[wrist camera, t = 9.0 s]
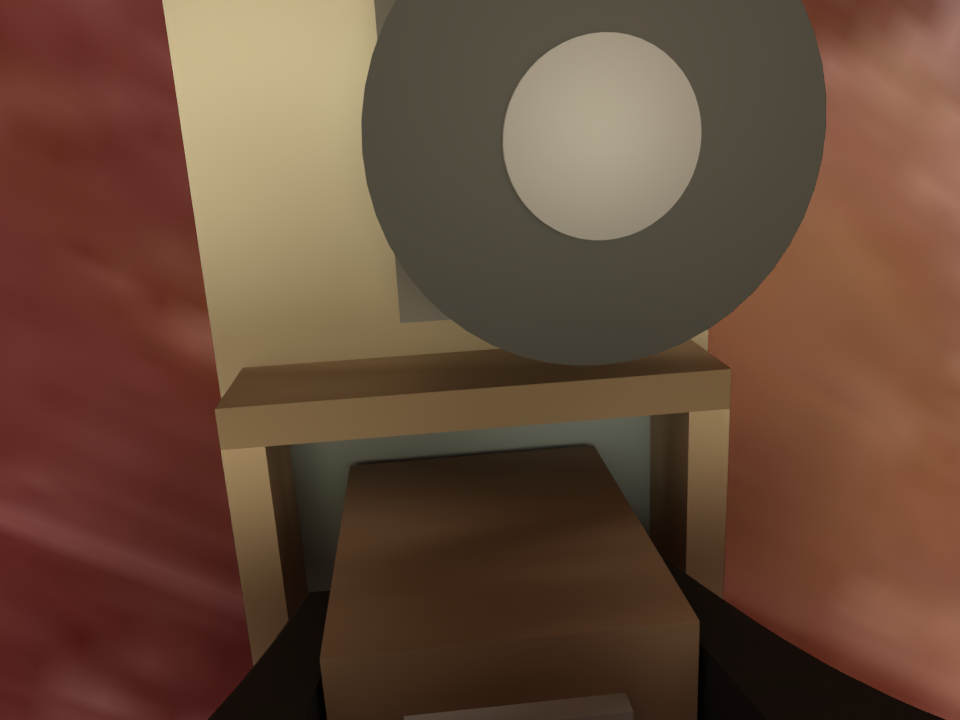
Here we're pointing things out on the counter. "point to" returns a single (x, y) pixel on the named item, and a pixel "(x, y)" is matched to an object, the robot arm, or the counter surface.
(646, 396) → the chassis board
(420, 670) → the wooden block
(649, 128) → the wheel
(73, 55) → the counter surface
